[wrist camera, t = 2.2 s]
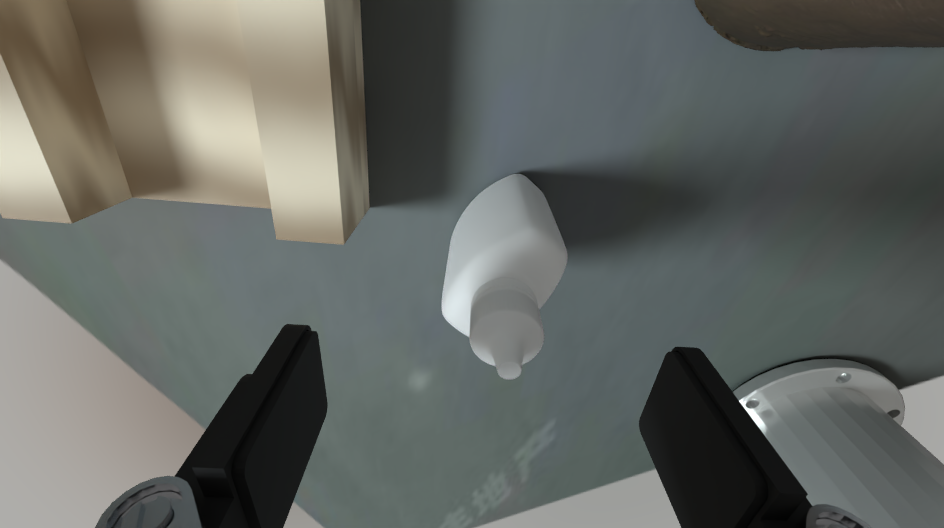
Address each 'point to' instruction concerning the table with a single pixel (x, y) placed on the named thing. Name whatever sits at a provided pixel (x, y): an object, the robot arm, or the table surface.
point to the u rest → (185, 109)
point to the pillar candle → (826, 23)
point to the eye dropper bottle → (503, 272)
